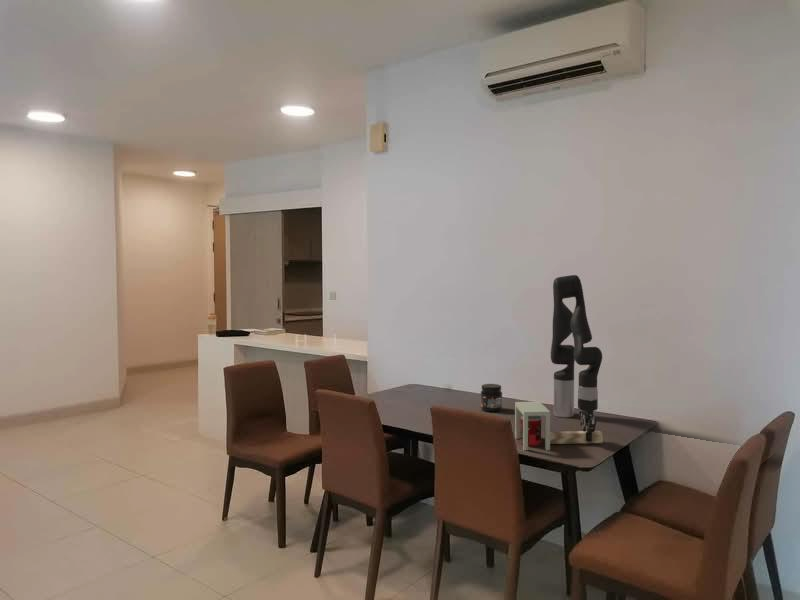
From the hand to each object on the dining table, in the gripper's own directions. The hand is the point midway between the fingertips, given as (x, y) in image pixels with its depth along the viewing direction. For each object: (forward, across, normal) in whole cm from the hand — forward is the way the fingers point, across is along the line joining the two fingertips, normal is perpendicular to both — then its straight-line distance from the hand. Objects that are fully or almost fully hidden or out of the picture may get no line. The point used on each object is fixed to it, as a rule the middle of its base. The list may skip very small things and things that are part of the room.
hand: (587, 439), depth 230 cm
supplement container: (+2, -54, -29) cm, 61 cm away
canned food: (+2, 0, -23) cm, 23 cm away
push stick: (+1, 0, -6) cm, 6 cm away
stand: (+1, 0, -22) cm, 22 cm away
